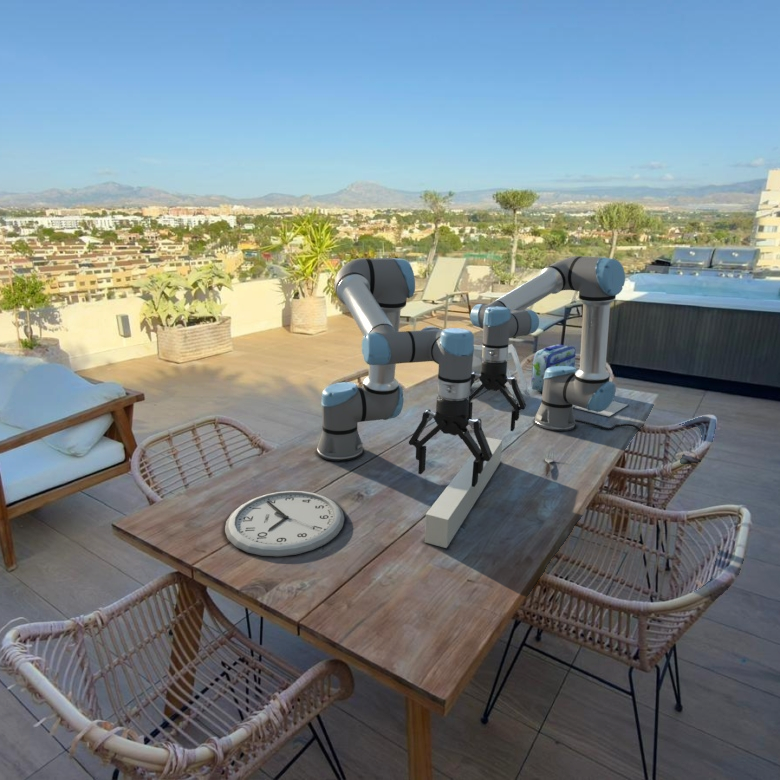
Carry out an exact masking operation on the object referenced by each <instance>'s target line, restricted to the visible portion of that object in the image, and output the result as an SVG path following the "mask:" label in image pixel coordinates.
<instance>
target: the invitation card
mask: <svg viewBox="0 0 780 780" xmlns="http://www.w3.org/2000/svg"><path fill="white" fill-rule="evenodd" d="M628 406H629V404H627V403H623V402H618V401H614V400H612V402H611V404H610V405H609V406H608V407H607V408H606V409H605V410H603V411H601V412H596V411H592V410H588V409H585V408H582V407H579V406H576V405H575V406H574V407H573V409H575V410H581V411H584V412H587V413H593V414H596V415H600V416H604V417H608V418H609V417H611V416H613V415H614V414H616V413H617V412H619V411H621V410H623V409H624V408H626V407H628Z"/></svg>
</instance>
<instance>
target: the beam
mask: <svg viewBox="0 0 780 780" xmlns="http://www.w3.org/2000/svg"><path fill="white" fill-rule="evenodd" d="M485 437H486V436H485ZM486 440H487V443H488V445H489V448H490V450H491V453H492V457H491V459H490V460H489V461H484V464H483V471H482V472H481V474H478V482H477V484H476V485H475V487H472V474H473V462H474V460H475V459H476V458H475V457H474V455H473V454H472V453H471V455H470V457H468V459H467V460H466V461H465V463H464V464H463V466H462V467H461V468H460V469H459V471H458V472H457V473H456V475H455V476H454V477H453V479H452V480H451V481H450V482H449V483H448V485H447V486H446V488H445V489H444V490H443V491H442V493H440V495H439V497H438V498H437V499H436V500H435V502H433V504H432V506H431V507H430V508H429V509H428V510H427V512H426V513H425V524H424V543H426V544H429V545H433V546H437V547H441V548H444V549H447V548H448V547H449V546H450V543H451V542H452V541H453V539H454V537H455V536H456V534H457V533H458V531H459V529H460V528H461V526H462V524H463V523H464V521H465V520H466V518H467V516H468V515H469V513H470V512H471V510H472V508H473V507H474V506H475V503H476V502H477V500H478V499H479V498H480V495H481V494H482V493H483V491H484V489H485V488H486V486H487V485H488V483H489V481H490V480H491V478H492V476H493V475H494V473H495V472H496V470H497V468H498V467H499V465H500V464H501V460H502V450H503V439H497V438H492V437H486ZM478 447H479V448H480V446H479V445H478Z"/></svg>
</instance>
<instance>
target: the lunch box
mask: <svg viewBox="0 0 780 780" xmlns="http://www.w3.org/2000/svg"><path fill="white" fill-rule="evenodd" d="M576 357H577V355H576V347H575V346H569V345H565V344H554V345H550V346H547V347H544V348H542V349H541V348H540V349H539V350H537V351H536V352H535V353H534V356H533V360H532V367H531V368H532V369H531V382H530V383H531V386H530V387H531V389H532V390H533V391H537V392H542V391H543V381H544V379H543V378H544V375H545V370H546V369H547V368H549V367H555V366H571V367H575V364H576Z"/></svg>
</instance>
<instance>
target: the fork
mask: <svg viewBox="0 0 780 780" xmlns="http://www.w3.org/2000/svg"><path fill="white" fill-rule="evenodd" d="M552 452H553V453H552ZM554 455H555V452H554V451H551V452H550V453H548V452H546V453H545V459H544V461H545V462H547V464H546V466H545V475H546V476H548V473H549V471H550V468H551V467H550V464H551V463H553V462H554V458H555V456H554Z"/></svg>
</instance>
